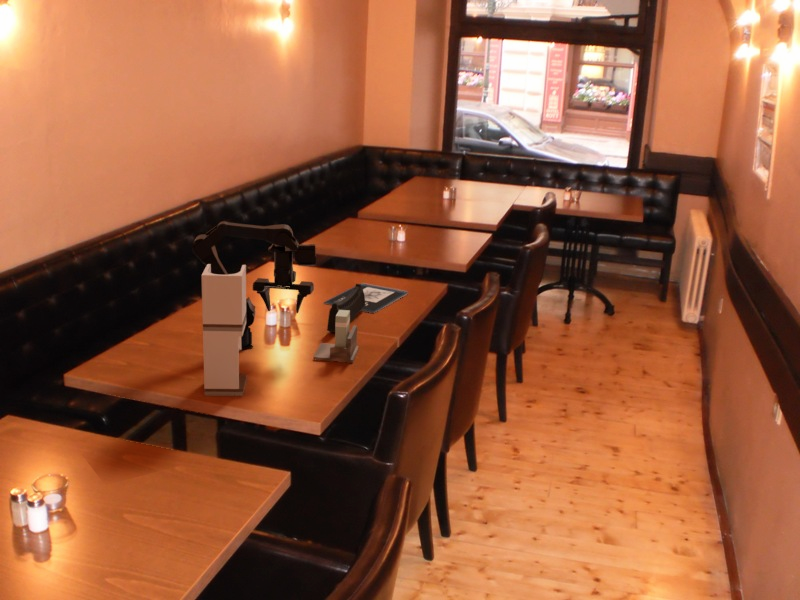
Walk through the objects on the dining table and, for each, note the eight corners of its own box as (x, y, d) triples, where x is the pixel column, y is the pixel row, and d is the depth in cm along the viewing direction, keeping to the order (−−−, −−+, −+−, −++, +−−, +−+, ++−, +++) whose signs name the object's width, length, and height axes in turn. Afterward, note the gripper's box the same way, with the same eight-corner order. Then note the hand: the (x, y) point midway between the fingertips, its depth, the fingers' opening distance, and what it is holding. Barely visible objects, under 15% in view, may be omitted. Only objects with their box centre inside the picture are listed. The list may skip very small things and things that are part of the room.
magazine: (333, 312, 285) (362, 267, 309) (324, 311, 286) (354, 266, 310) (337, 353, 295) (365, 306, 318) (329, 352, 296) (357, 305, 319)
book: (334, 354, 270) (335, 316, 266) (338, 347, 276) (339, 309, 272) (345, 355, 270) (346, 316, 266) (348, 348, 276) (350, 310, 272)
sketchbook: (323, 305, 324) (323, 300, 323) (361, 286, 350) (361, 281, 349) (373, 315, 315) (374, 309, 314) (408, 295, 341) (409, 290, 340)
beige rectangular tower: (242, 395, 239) (241, 276, 229) (204, 395, 238) (201, 275, 228) (246, 379, 250) (245, 264, 240) (210, 379, 249) (207, 264, 239)
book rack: (313, 359, 268) (313, 336, 265) (321, 345, 280) (321, 322, 278) (352, 363, 267) (353, 339, 264) (358, 348, 279) (359, 325, 277)
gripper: (317, 260, 276) (316, 306, 281) (261, 256, 278) (261, 302, 282) (310, 269, 266) (309, 317, 270) (251, 265, 267) (252, 312, 272)
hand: (283, 311), depth 274 cm, fingers open, 9 cm apart
